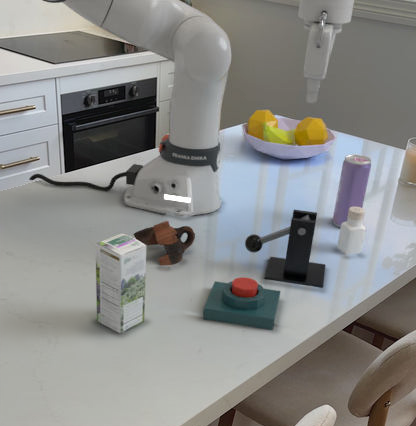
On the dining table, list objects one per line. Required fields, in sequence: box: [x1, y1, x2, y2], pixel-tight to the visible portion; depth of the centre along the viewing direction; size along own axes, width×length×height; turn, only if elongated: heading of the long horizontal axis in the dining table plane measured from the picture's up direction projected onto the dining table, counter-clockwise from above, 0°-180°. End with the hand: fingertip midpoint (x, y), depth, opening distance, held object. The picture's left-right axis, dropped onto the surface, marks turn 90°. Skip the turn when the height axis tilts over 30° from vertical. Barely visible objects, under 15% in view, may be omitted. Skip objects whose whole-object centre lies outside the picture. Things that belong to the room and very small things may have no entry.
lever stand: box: [264, 209, 326, 289], centre depth 126 cm, size 11×9×12 cm
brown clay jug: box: [133, 220, 196, 266], centre depth 131 cm, size 12×10×8 cm
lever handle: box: [244, 215, 310, 254], centre depth 125 cm, size 13×3×3 cm, turn 80°
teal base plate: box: [202, 280, 281, 331], centre depth 116 cm, size 12×10×4 cm
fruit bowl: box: [241, 109, 337, 160], centre depth 188 cm, size 28×27×11 cm
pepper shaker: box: [336, 207, 367, 255], centre depth 137 cm, size 4×4×10 cm
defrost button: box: [231, 276, 259, 298], centre depth 115 cm, size 4×4×2 cm
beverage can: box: [332, 154, 372, 229], centre depth 147 cm, size 6×6×15 cm
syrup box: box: [95, 233, 147, 334], centre depth 107 cm, size 6×6×14 cm
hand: (312, 95), depth 119 cm, fingers open, 8 cm apart
